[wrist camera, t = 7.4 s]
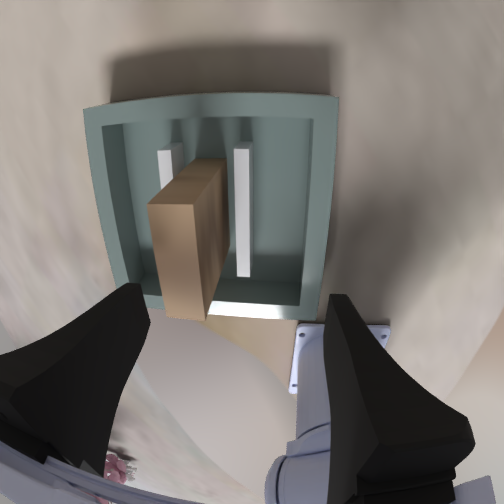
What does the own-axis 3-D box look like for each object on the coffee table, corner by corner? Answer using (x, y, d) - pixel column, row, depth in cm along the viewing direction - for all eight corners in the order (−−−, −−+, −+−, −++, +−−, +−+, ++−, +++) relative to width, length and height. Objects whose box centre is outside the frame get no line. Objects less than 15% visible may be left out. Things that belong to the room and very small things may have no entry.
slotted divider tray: (313, 291, 24) (315, 320, 21) (137, 280, 25) (121, 304, 22) (330, 94, 17) (338, 97, 14) (109, 102, 18) (83, 109, 15)
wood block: (230, 245, 22) (205, 320, 15) (201, 244, 22) (166, 316, 16) (226, 158, 19) (193, 204, 12) (194, 158, 19) (146, 204, 13)
